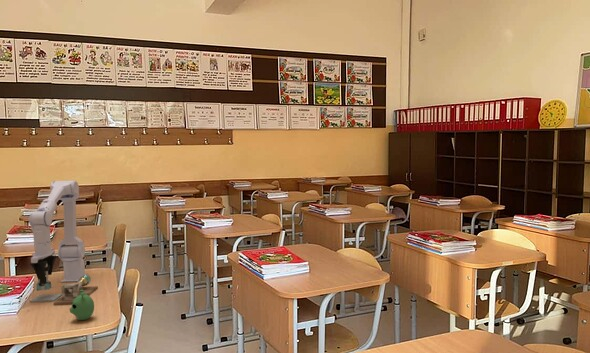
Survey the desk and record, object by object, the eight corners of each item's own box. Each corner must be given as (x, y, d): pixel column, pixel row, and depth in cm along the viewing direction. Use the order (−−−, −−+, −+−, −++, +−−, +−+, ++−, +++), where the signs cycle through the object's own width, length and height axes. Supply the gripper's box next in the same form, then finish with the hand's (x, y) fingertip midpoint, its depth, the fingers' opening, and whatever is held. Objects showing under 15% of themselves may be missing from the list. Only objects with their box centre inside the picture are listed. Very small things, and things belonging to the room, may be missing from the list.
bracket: (75, 289, 199) (74, 274, 198) (97, 288, 199) (96, 274, 198) (53, 305, 180) (52, 289, 179) (77, 304, 180) (76, 288, 179)
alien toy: (69, 318, 165) (67, 290, 165) (94, 314, 169) (92, 286, 168) (70, 325, 159) (68, 295, 158) (96, 320, 163) (94, 291, 162)
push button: (56, 286, 191) (54, 261, 190) (53, 290, 186) (52, 265, 185) (37, 288, 189) (36, 263, 188) (34, 292, 184) (33, 266, 183)
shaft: (81, 284, 198) (80, 275, 198) (91, 284, 198) (90, 274, 198) (64, 296, 184) (64, 285, 183) (75, 295, 184) (74, 285, 183)
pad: (39, 296, 191) (39, 294, 191) (62, 295, 191) (62, 293, 191) (30, 302, 184) (30, 300, 184) (53, 301, 184) (53, 299, 184)
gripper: (41, 238, 193) (43, 272, 194) (21, 246, 179) (24, 282, 180) (59, 237, 193) (61, 271, 194) (40, 246, 179) (43, 282, 180)
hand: (44, 276), depth 187 cm, fingers closed on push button, 5 cm apart
